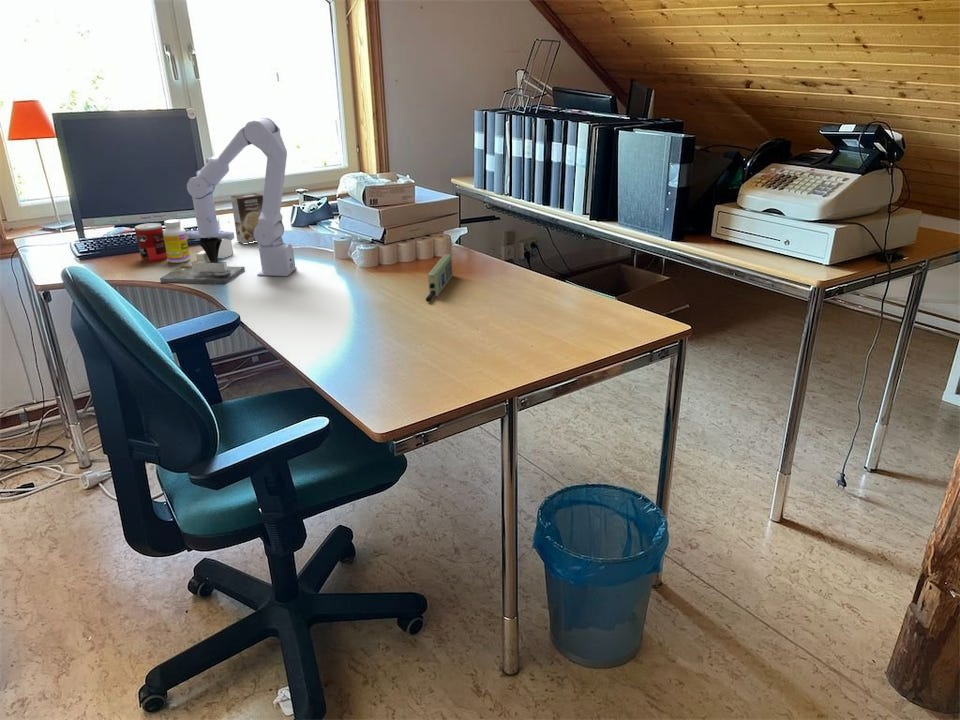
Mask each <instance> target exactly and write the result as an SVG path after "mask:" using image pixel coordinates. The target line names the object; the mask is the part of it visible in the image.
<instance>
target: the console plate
mask: <svg viewBox="0 0 960 720" xmlns="http://www.w3.org/2000/svg"><path fill="white" fill-rule="evenodd" d="M245 268H246V267H245V266H228V265H227V269H228V270H230V272H231V273H230V274H229V275H225V276H214V275H213V272H193V269H192V265H181V266H178V267H177V268H175V269H174V270H172V271H170V272H168V273H167V274H165V275H164V276H161V277H160V278H159V280H160V283H171V282H178V283H180V284H213V285H214V284H215V285H216V284H218V285H223V284H224V285H226V284H228V283H229V282H231V281H233V280H234V279H235V278H237V277H238V276H240V275H241V274H243V273H244V272H245V271H246V270H245ZM178 283H177V284H178Z"/></svg>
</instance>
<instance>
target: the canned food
mask: <svg viewBox="0 0 960 720" xmlns="http://www.w3.org/2000/svg"><path fill="white" fill-rule="evenodd" d="M134 230H135V237H136V241H137V245H138V248H139V249H138V250H139V253H140V258H141V260H142V262H144V261H146V262H145V263H156V262H155V261H158V262H162V260H163V261H165V260H168V257H167V252H166V247H165V242H164V237H163V231H164V230H163V226H162V224H161V223H159V222H149V223H141V224H138V225H136V226H134Z"/></svg>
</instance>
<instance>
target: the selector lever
mask: <svg viewBox="0 0 960 720" xmlns="http://www.w3.org/2000/svg"><path fill="white" fill-rule="evenodd" d="M191 266H192V269H193V272H213V275H214V276H225V275H229V274H230V273H231V272H230V270H228V269H227V266H228V263H227V261H218V262H210V261H197V260H193V261H191Z"/></svg>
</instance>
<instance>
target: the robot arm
mask: <svg viewBox="0 0 960 720" xmlns="http://www.w3.org/2000/svg"><path fill="white" fill-rule="evenodd" d="M251 145H253V146H254V147H256V148H257V149H259V150H260V151H261V152H262V154H264V155H265V156H266V158H267V159H266V165H265V166H266V167H265V168H266V169H265V178H264V185H263V194H262V195H263V204H262V212H261V214H260V217H259V219H258V224H257V226H256V228H255V229H254V233H253V234H254V238H255V240H256V241H257V243H256V244H258V245H257V246H258V252H259V258H260V265H261V270H260V271H258V273H257V274H256V275H257V276H269V277H271V276H272V277H273V276H275V277H288V276H289V275H291V274H292V273H293V272H294V271H295V270H297V266H296V261H295V254H294V249H293V245H292V244H290V243H286V242H284V240H283V238H282V237H283V235H284V234H285V226H284V223H283V217H284V216H283V215H282V212H281V208H282V202H283V201H282V199H283V192H284V191H283V190H284V182H285V175H286V167H287V165H286V164H287V157H288V151H287V148H286V146H285V143H284V140H283V137H282V136H281V129H280V127H279V126H278V125H277V124H276V123H275V121H273V119H271V118H269V117H261V118H259V119H256V120H250V121H248V122H247V123H245V126H244V127H242V128H240V129H239V130H238V132H237V133H236V134H235V135H234V136H233V138H232V139H231V140H230V142H229V143H228V145H226V146H225V148H224V149H223V150H222V152H221V153H220V155H218V156H211V157H208V158H206V159H205V165H204V166H203V167H201V169H200V170H196V172H195V175H196V176H193V177H190V178H189V179H188V182H187V183H186V190H187V192H188V194H189V196H191V198H192V203H193V209H194V214H195V219H196V225H197V226H196V227H197V230H193V231H192V230H187V231H185V239H187V240H191V239H195V240H196V239H197V240H198V239H200V240H198V245H199V246H200V247H201V248H202V250H203V249H204V250H203V251H205V252H206V254H207V256H208V258H209V260H210V262H219V259H218V252H219V247H220V244H221V242H222V239H228V240H231V241H232V240H234V239H235V234H234V233H235V232H234V231H224V230H221V231H219V228H218V222H217V217H216V216H217V213H216V206H215V200H214V191H215V190H216V186H217V185H218V184H219V182H221V181H222V180H223V178H225V176H226V175H227V174H228V173H229V172H230V167H229V165H230V163H231V162H232V161H234V159H235V158H236V157H237V156H238V155H239V154H240V153H241V152H242V151H243V150H244V149H245V148H246V147H247V146H251Z"/></svg>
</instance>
